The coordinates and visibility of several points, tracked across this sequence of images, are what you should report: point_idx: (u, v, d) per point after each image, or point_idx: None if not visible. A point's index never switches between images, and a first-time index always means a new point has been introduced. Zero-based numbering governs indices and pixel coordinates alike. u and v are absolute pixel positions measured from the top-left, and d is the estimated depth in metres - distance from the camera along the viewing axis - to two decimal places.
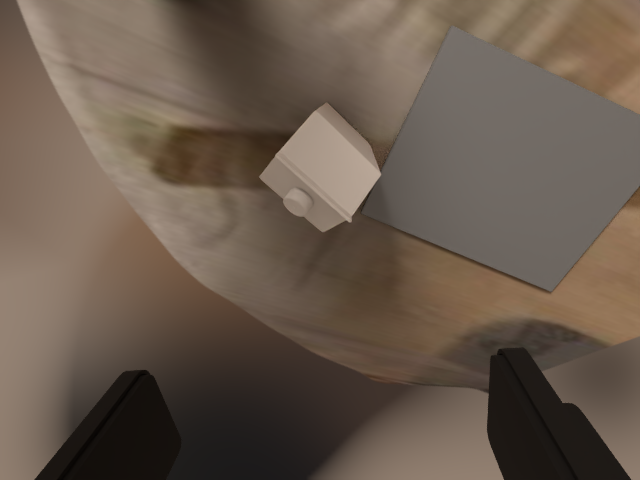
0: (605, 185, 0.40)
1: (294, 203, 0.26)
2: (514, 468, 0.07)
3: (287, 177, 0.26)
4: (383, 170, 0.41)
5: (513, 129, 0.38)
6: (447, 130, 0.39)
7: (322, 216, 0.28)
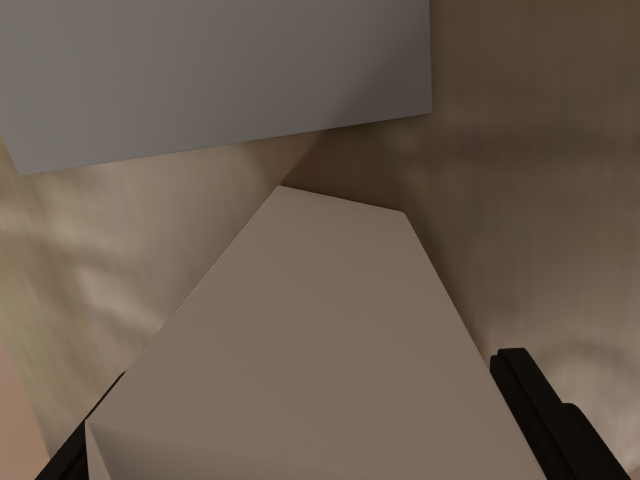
0: None
1: None
2: None
3: None
4: (305, 128, 0.17)
5: None
6: (143, 49, 0.16)
7: None
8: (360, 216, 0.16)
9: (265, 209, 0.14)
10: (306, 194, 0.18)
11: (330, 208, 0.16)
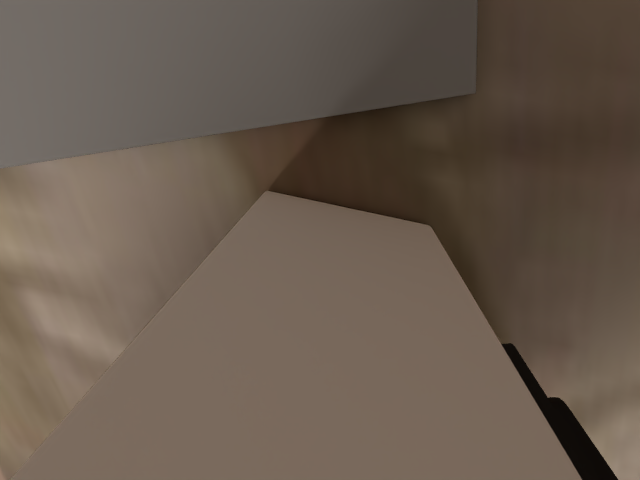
0: None
1: None
2: None
3: None
4: (300, 116, 0.12)
5: None
6: (77, 5, 0.12)
7: None
8: (374, 235, 0.12)
9: (240, 231, 0.10)
10: (302, 203, 0.13)
11: (333, 223, 0.12)
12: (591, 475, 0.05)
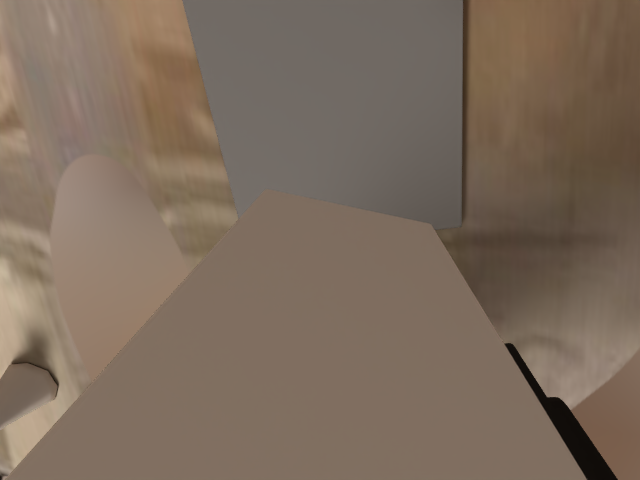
0: None
1: None
2: None
3: None
4: None
5: (282, 131, 0.31)
6: (323, 196, 0.33)
7: None
8: (374, 233, 0.12)
9: (240, 229, 0.10)
10: (302, 201, 0.13)
11: (334, 222, 0.12)
12: (590, 474, 0.05)
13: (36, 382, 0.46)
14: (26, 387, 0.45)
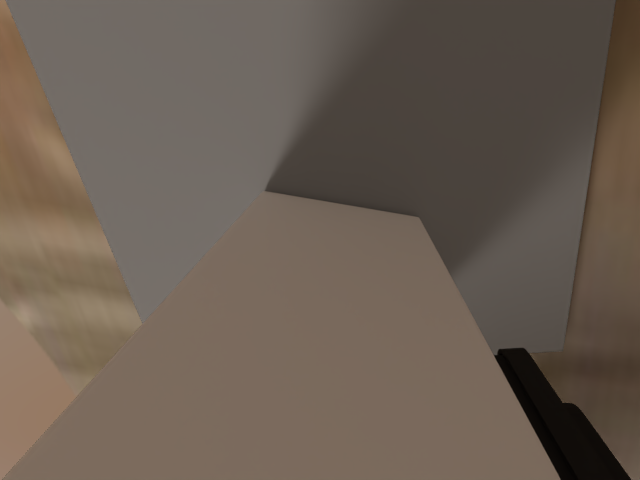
0: None
1: None
2: None
3: None
4: None
5: (209, 172, 0.15)
6: None
7: None
8: (363, 227, 0.13)
9: (238, 228, 0.11)
10: (296, 201, 0.14)
11: (326, 218, 0.13)
12: None
13: None
14: None
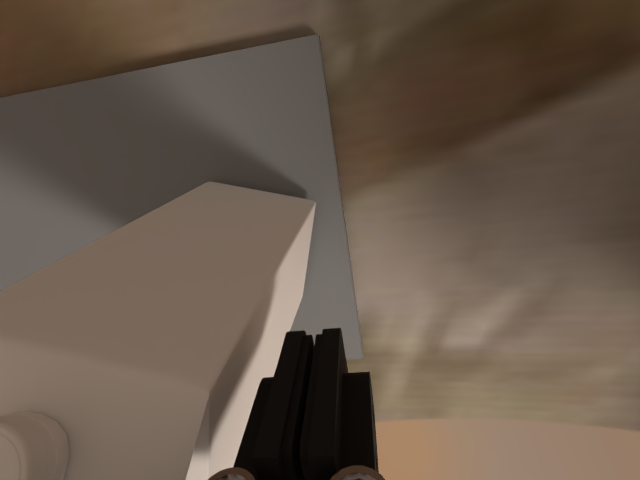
0: None
1: None
2: None
3: None
4: (331, 150, 0.20)
5: None
6: None
7: None
8: None
9: None
10: None
11: None
12: (329, 423, 0.07)
13: None
14: None
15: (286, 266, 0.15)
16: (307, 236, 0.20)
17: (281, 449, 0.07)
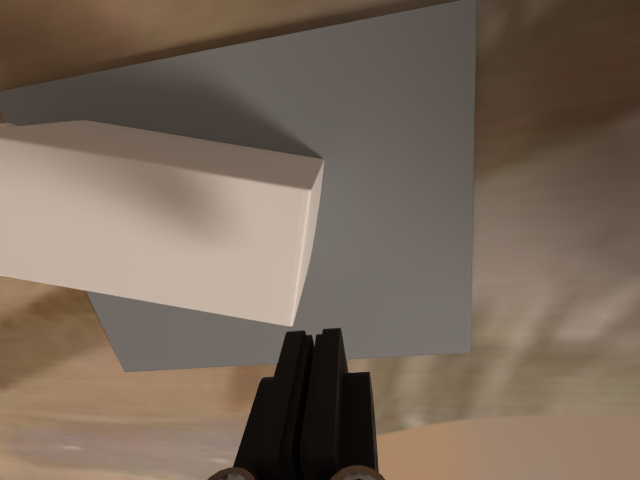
0: None
1: None
2: None
3: None
4: (471, 126, 0.19)
5: (305, 293, 0.24)
6: (396, 247, 0.22)
7: None
8: None
9: None
10: None
11: None
12: (329, 423, 0.07)
13: None
14: None
15: (136, 176, 0.14)
16: (259, 216, 0.15)
17: (281, 449, 0.07)
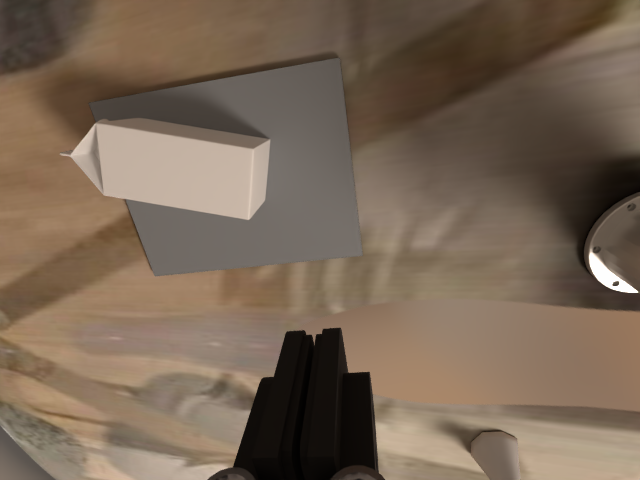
0: (159, 221, 0.43)
1: None
2: None
3: None
4: (345, 121, 0.36)
5: (264, 219, 0.42)
6: (313, 189, 0.40)
7: None
8: None
9: None
10: None
11: None
12: (330, 423, 0.07)
13: (488, 443, 0.52)
14: (490, 452, 0.51)
15: (174, 143, 0.32)
16: (231, 161, 0.32)
17: (281, 449, 0.07)
